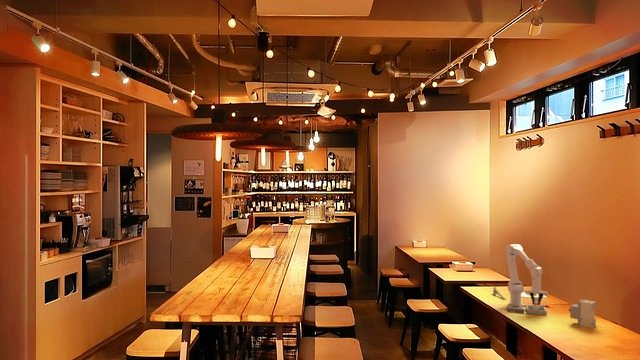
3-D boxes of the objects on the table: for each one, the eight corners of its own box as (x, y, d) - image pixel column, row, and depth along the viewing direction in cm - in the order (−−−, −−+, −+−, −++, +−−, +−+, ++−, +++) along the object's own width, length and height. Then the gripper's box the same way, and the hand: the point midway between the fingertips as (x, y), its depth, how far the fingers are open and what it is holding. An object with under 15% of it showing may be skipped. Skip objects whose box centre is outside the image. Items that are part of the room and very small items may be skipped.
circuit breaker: (571, 320, 310) (571, 297, 310) (595, 325, 300) (596, 301, 300) (567, 323, 305) (567, 299, 305) (592, 328, 295) (592, 303, 295)
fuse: (533, 308, 332) (533, 297, 332) (538, 309, 331) (538, 297, 331) (533, 309, 329) (534, 298, 329) (538, 310, 328) (539, 298, 328)
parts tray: (525, 309, 337) (525, 305, 337) (544, 311, 334) (544, 306, 334) (527, 313, 326) (527, 309, 326) (546, 315, 322) (546, 310, 322)
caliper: (493, 294, 385) (493, 286, 385) (494, 294, 385) (494, 286, 385) (504, 300, 364) (504, 292, 364) (506, 300, 364) (506, 292, 365)
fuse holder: (507, 307, 341) (507, 304, 341) (522, 309, 338) (522, 305, 338) (508, 311, 330) (508, 308, 330) (524, 313, 327) (524, 309, 327)
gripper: (525, 284, 329) (525, 304, 328) (548, 286, 324) (548, 306, 324) (524, 282, 335) (524, 302, 335) (547, 284, 331) (547, 304, 331)
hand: (536, 304), depth 330 cm, fingers closed on fuse, 3 cm apart
